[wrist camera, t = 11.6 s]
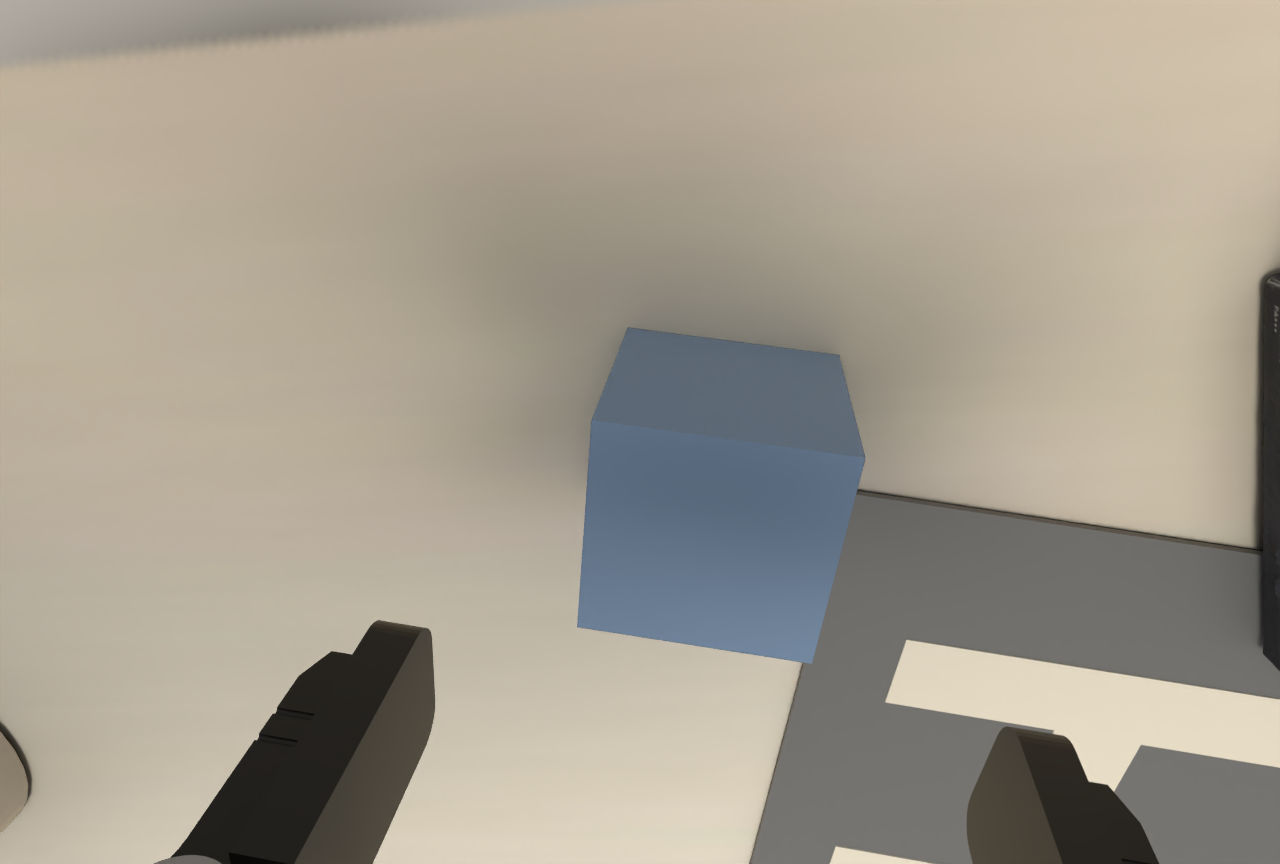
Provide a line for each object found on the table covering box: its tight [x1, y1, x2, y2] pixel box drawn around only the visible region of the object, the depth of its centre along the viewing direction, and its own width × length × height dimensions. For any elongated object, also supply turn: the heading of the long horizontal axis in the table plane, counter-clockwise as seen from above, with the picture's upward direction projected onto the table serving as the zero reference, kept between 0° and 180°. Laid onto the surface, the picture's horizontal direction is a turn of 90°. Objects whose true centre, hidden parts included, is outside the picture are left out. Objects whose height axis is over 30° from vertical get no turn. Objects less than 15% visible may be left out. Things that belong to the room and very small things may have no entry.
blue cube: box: [577, 328, 865, 664], centre depth 18 cm, size 5×5×5 cm
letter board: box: [750, 491, 1280, 864], centre depth 24 cm, size 17×20×1 cm
